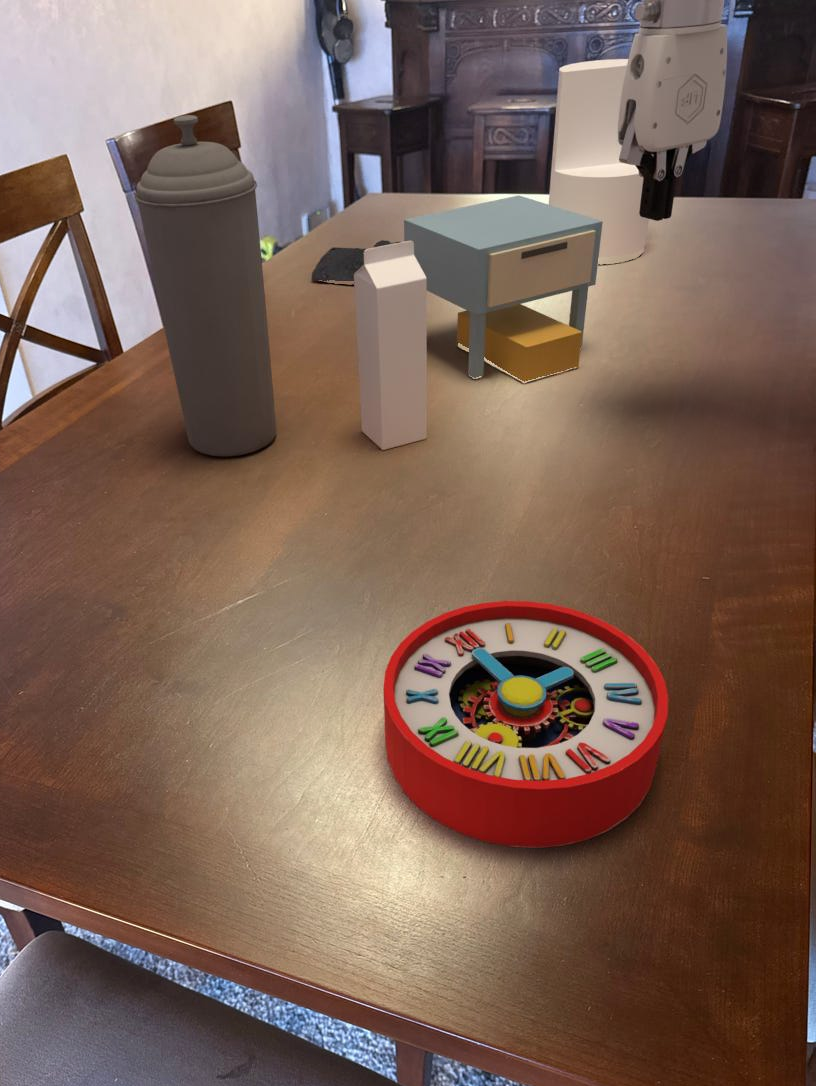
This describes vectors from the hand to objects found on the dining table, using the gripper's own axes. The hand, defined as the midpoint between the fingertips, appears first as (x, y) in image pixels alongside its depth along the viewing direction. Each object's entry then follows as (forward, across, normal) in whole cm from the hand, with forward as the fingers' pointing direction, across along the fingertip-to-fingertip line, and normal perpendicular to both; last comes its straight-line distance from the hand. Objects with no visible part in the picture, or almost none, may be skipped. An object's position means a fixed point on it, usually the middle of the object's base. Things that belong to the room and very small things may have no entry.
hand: (654, 216), depth 97 cm
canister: (+21, -45, +20) cm, 54 cm away
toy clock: (+22, -46, -40) cm, 65 cm away
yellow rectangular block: (+22, -2, +21) cm, 30 cm away
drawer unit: (+21, -2, +26) cm, 34 cm away
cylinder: (+22, +38, +53) cm, 69 cm away
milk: (+22, -28, +10) cm, 37 cm away
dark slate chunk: (+21, +1, +66) cm, 70 cm away
